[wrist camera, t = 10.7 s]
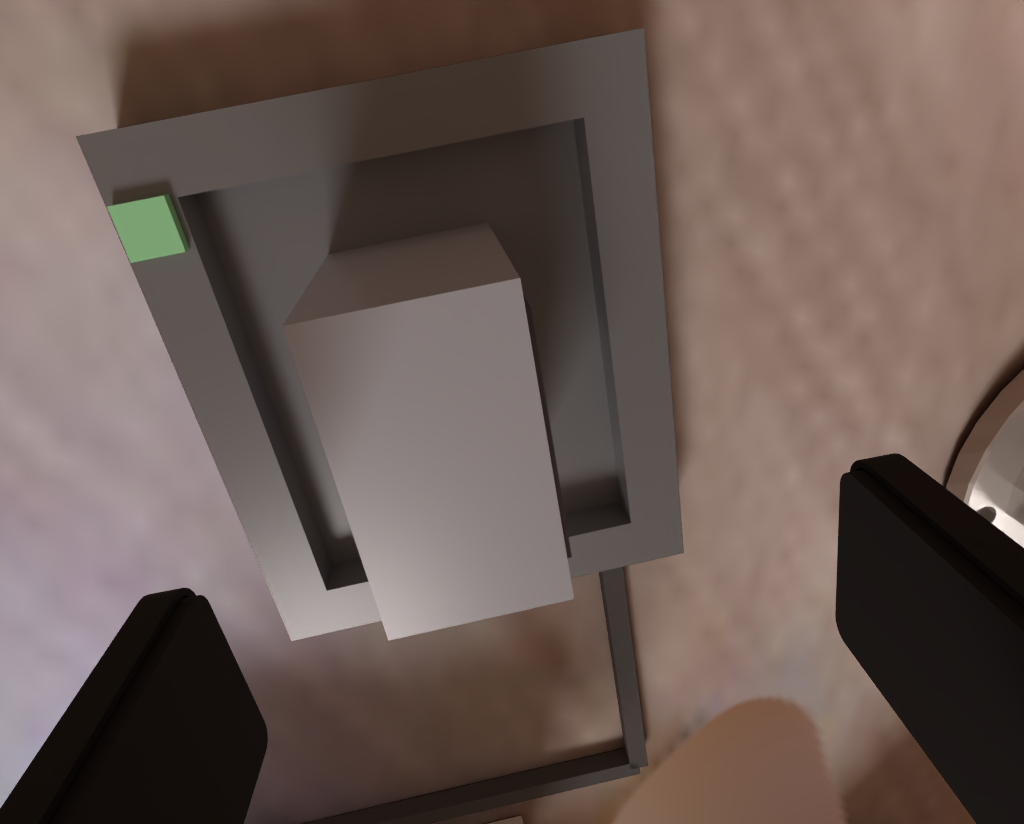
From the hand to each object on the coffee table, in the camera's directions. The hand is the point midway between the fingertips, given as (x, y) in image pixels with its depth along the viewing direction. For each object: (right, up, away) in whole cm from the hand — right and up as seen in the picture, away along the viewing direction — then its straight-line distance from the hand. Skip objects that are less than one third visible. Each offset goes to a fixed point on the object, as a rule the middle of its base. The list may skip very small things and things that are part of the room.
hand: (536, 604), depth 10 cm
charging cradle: (-2, +4, +9) cm, 10 cm away
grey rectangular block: (-2, +4, +8) cm, 9 cm away
